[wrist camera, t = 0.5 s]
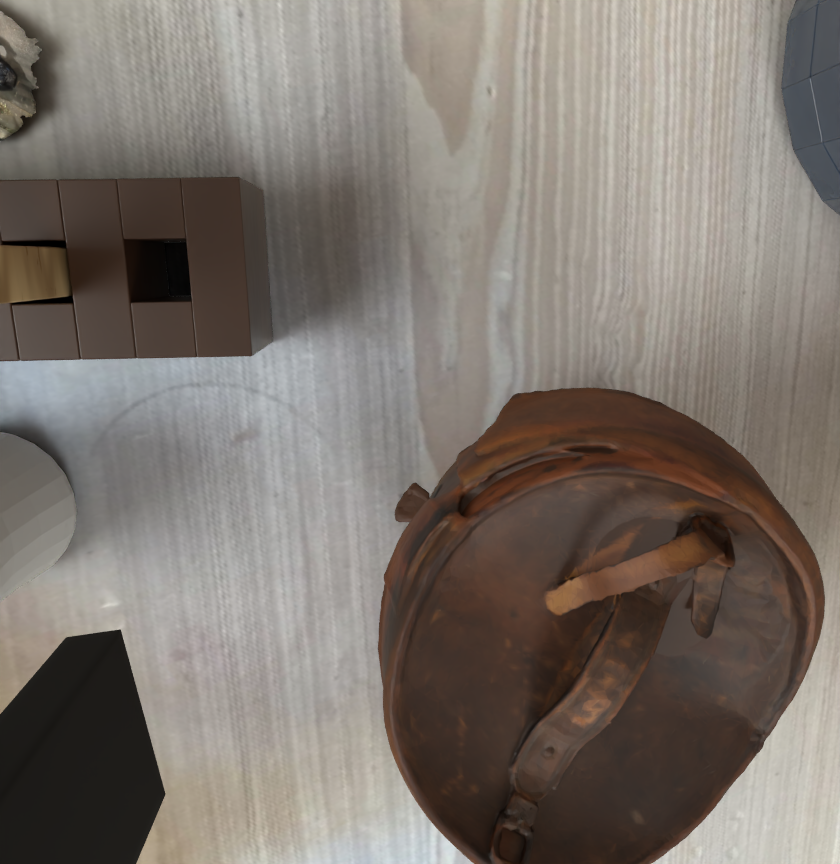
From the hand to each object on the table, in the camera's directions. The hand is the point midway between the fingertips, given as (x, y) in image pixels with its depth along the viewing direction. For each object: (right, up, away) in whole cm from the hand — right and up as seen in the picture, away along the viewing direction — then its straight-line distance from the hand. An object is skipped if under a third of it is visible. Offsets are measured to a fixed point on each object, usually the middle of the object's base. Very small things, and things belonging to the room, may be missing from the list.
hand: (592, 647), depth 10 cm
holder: (-20, +12, +28) cm, 36 cm away
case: (+4, -2, +32) cm, 33 cm away
